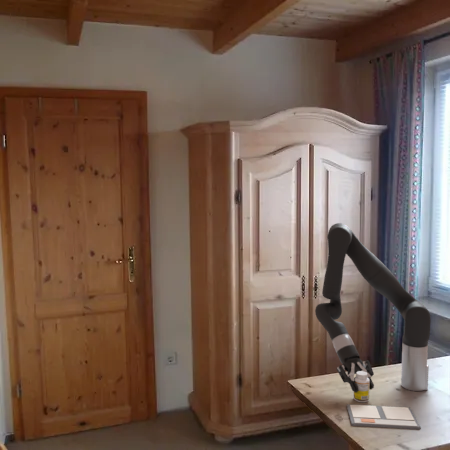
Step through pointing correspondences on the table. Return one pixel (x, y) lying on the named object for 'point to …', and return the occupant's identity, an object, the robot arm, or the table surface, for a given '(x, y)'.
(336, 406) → the table surface
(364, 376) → the supplement bottle
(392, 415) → the board
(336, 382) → the table surface
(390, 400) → the table surface
